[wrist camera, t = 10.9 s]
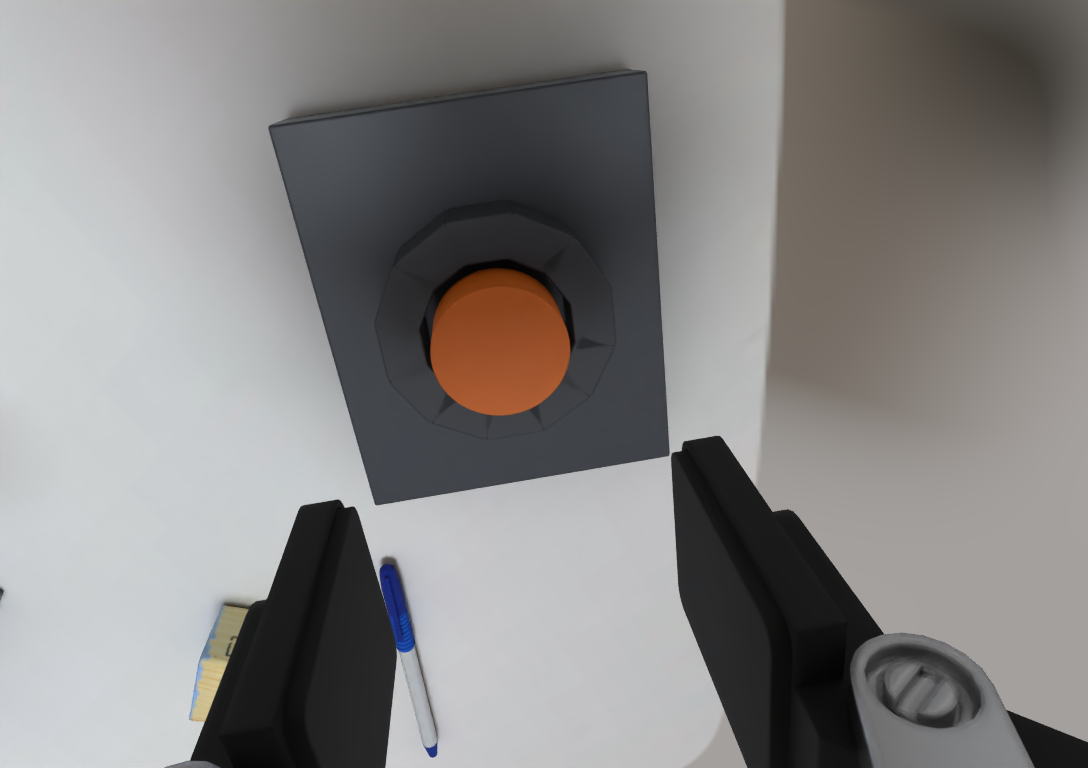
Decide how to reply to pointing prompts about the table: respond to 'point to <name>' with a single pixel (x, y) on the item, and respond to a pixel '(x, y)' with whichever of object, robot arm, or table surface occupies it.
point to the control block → (482, 243)
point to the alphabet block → (215, 659)
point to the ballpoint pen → (408, 654)
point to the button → (499, 342)
